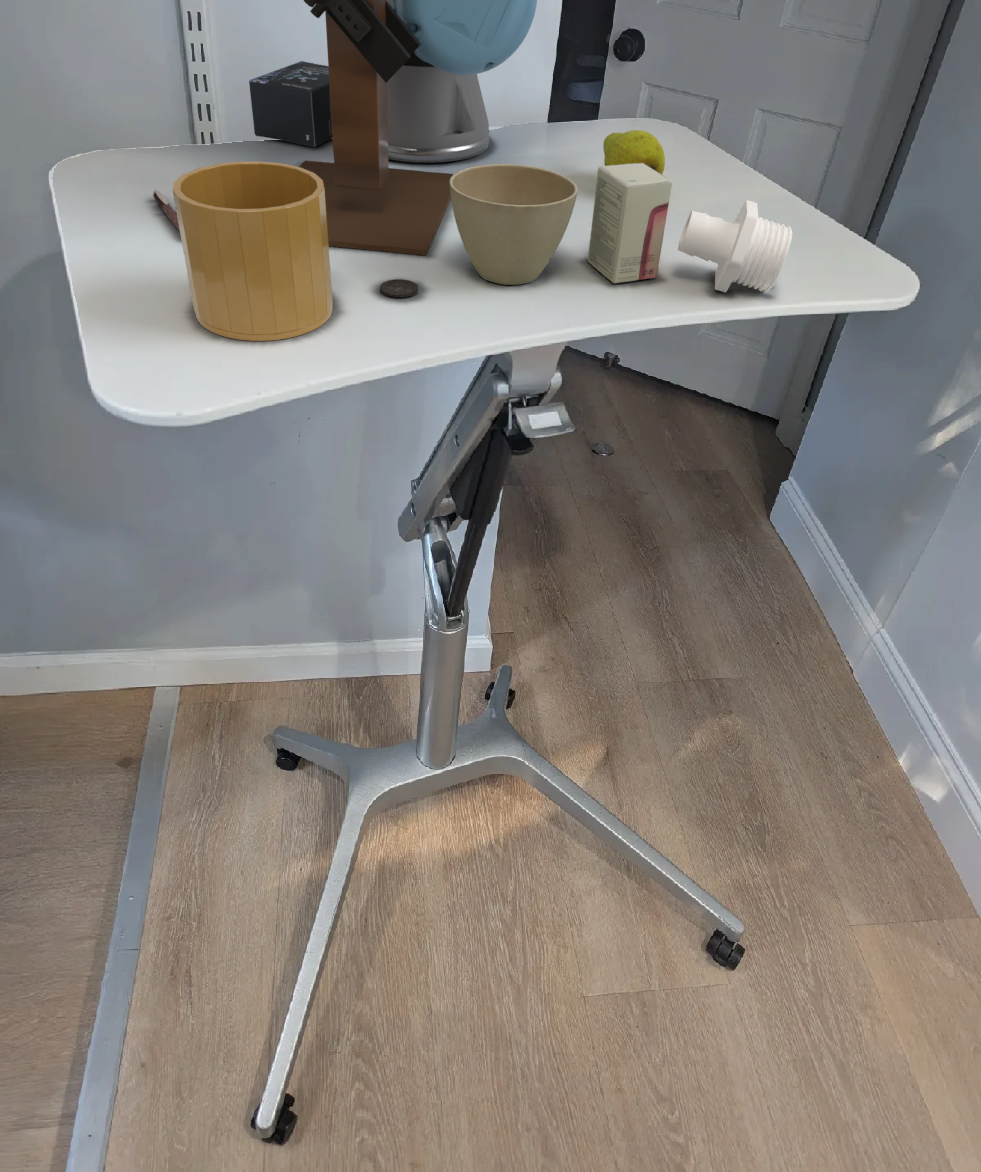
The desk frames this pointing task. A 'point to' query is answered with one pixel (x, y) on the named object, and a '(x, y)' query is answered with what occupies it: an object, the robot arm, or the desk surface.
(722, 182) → the desk surface
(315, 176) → the wooden pot
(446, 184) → the mat
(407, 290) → the coin
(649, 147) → the fruit
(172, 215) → the pen
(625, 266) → the small box
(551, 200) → the bowl
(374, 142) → the block
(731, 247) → the pipe fitting
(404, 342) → the desk surface
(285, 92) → the box
